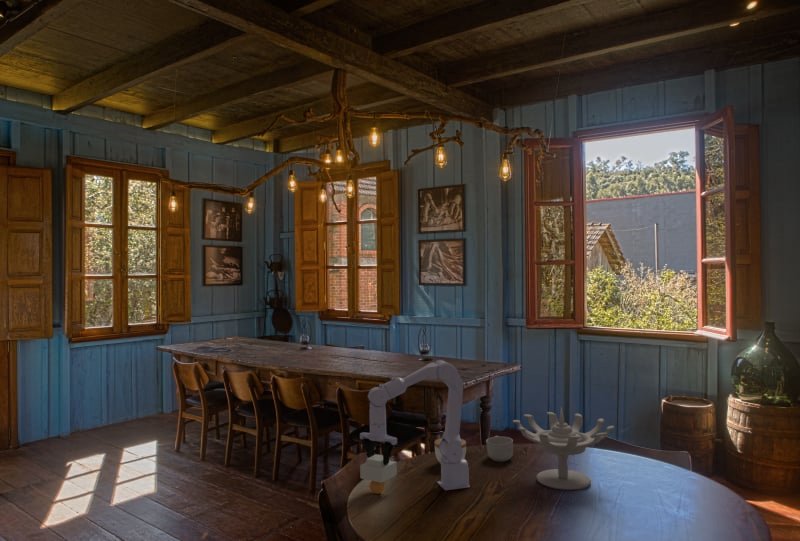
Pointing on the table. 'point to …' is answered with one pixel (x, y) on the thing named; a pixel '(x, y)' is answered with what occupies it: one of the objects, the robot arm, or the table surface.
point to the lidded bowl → (439, 454)
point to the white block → (378, 469)
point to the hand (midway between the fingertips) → (378, 462)
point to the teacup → (500, 448)
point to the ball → (376, 487)
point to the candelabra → (563, 448)
